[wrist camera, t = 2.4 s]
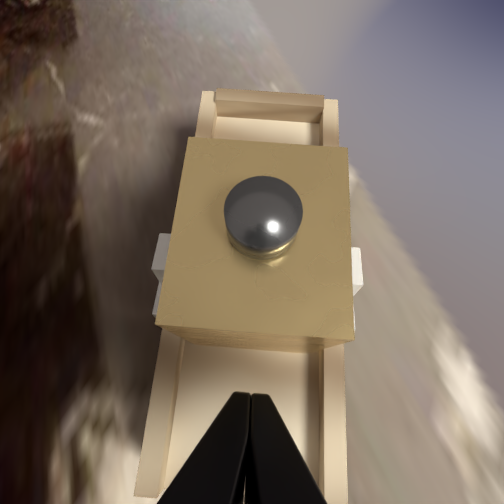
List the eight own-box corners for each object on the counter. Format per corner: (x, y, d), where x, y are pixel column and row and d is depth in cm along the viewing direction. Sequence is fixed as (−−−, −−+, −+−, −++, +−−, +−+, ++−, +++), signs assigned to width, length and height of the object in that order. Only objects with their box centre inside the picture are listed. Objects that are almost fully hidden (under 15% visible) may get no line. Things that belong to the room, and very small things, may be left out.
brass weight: (307, 353, 17) (368, 336, 8) (195, 344, 17) (142, 318, 8) (309, 233, 19) (358, 124, 11) (211, 226, 20) (182, 112, 11)
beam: (340, 493, 16) (359, 518, 13) (143, 476, 16) (121, 497, 13) (333, 128, 24) (344, 96, 21) (202, 119, 24) (196, 86, 22)
